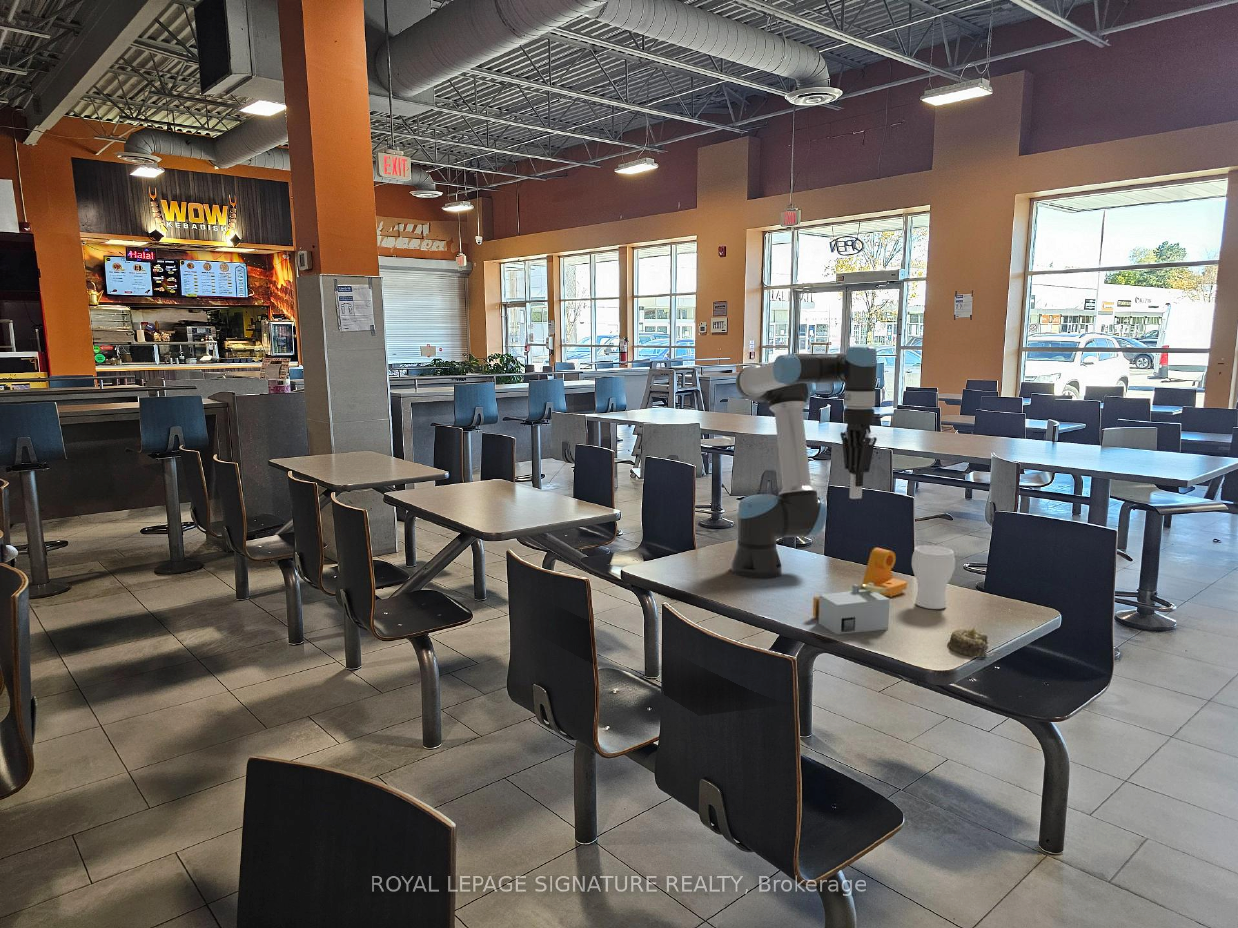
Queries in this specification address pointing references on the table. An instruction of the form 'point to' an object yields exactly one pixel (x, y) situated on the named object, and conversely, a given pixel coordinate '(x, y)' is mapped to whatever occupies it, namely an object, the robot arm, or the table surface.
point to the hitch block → (854, 610)
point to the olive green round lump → (969, 642)
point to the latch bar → (872, 588)
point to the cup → (932, 574)
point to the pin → (846, 622)
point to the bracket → (883, 572)
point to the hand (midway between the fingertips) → (855, 498)
